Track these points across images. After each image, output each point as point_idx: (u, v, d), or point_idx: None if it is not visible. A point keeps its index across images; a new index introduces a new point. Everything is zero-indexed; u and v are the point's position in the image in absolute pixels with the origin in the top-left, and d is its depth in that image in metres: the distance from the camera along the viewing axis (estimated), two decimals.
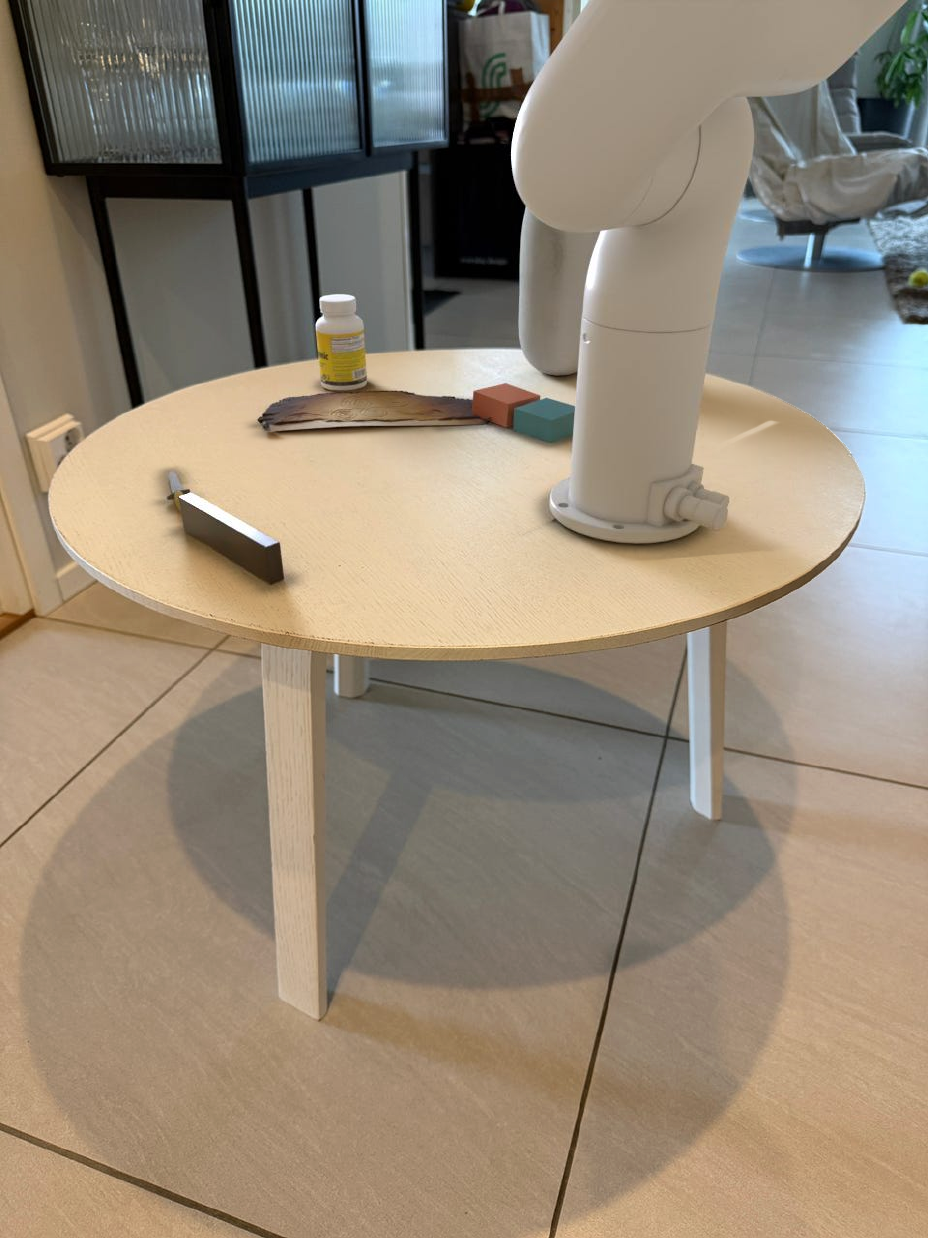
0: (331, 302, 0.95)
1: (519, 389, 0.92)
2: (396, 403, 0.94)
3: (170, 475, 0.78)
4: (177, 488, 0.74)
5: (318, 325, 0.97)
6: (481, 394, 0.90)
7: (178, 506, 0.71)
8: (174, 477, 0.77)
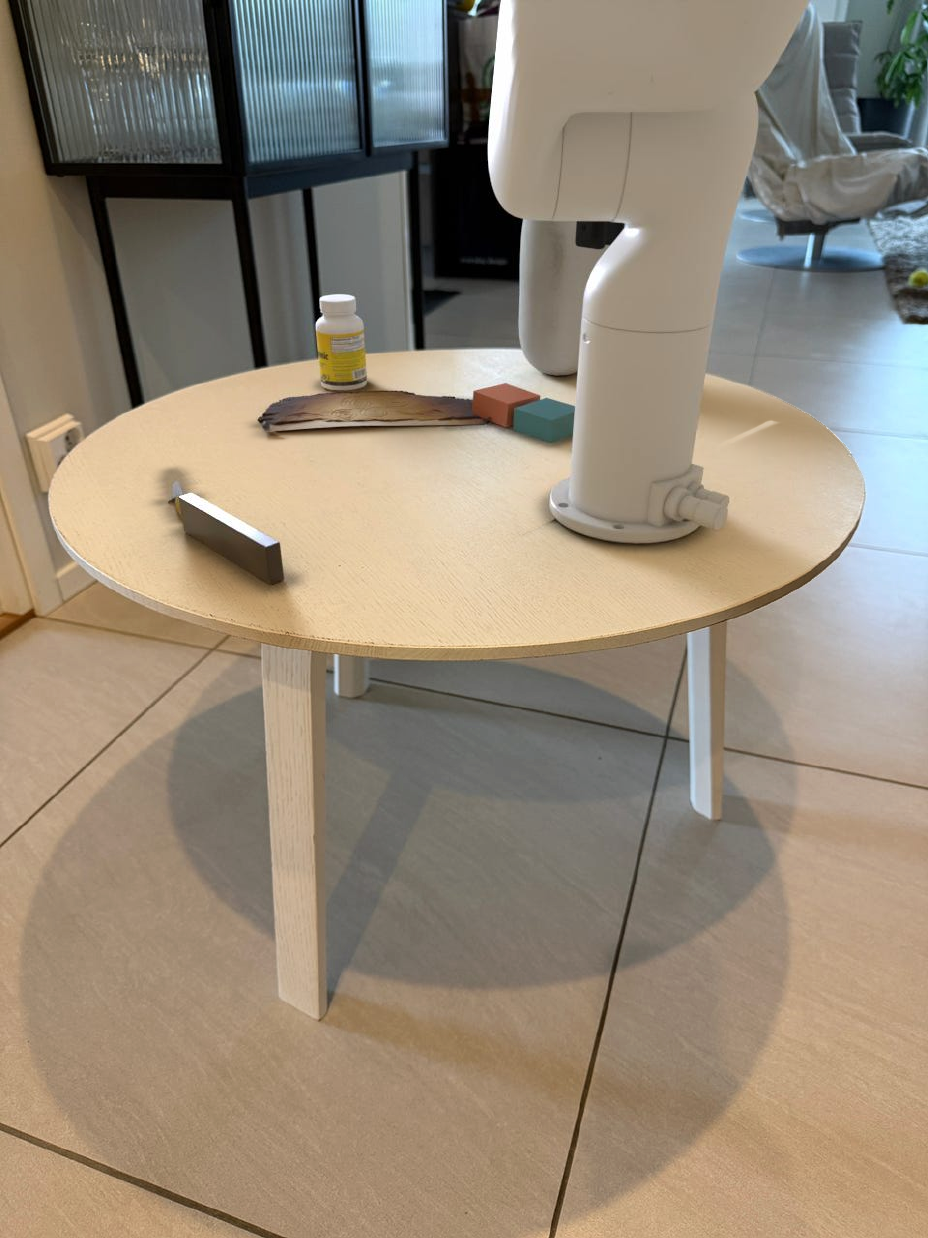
0: (331, 302, 0.95)
1: (519, 389, 0.92)
2: (396, 403, 0.94)
3: None
4: (178, 493, 0.74)
5: (318, 325, 0.97)
6: (481, 394, 0.90)
7: (179, 511, 0.71)
8: (175, 482, 0.77)
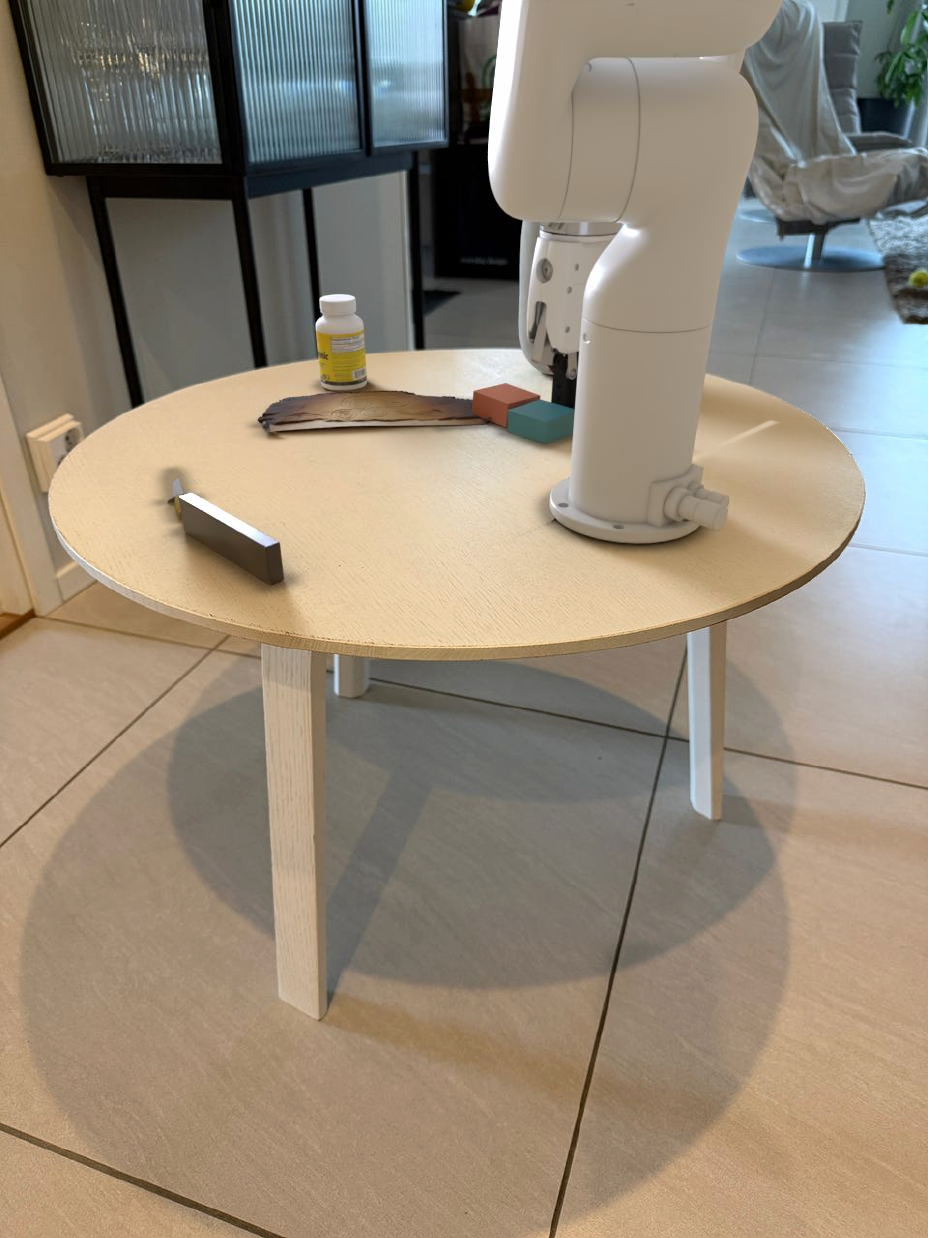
0: (331, 302, 0.95)
1: (519, 389, 0.92)
2: (396, 403, 0.94)
3: None
4: (178, 492, 0.74)
5: (318, 325, 0.97)
6: (481, 394, 0.90)
7: (178, 510, 0.71)
8: (176, 481, 0.77)
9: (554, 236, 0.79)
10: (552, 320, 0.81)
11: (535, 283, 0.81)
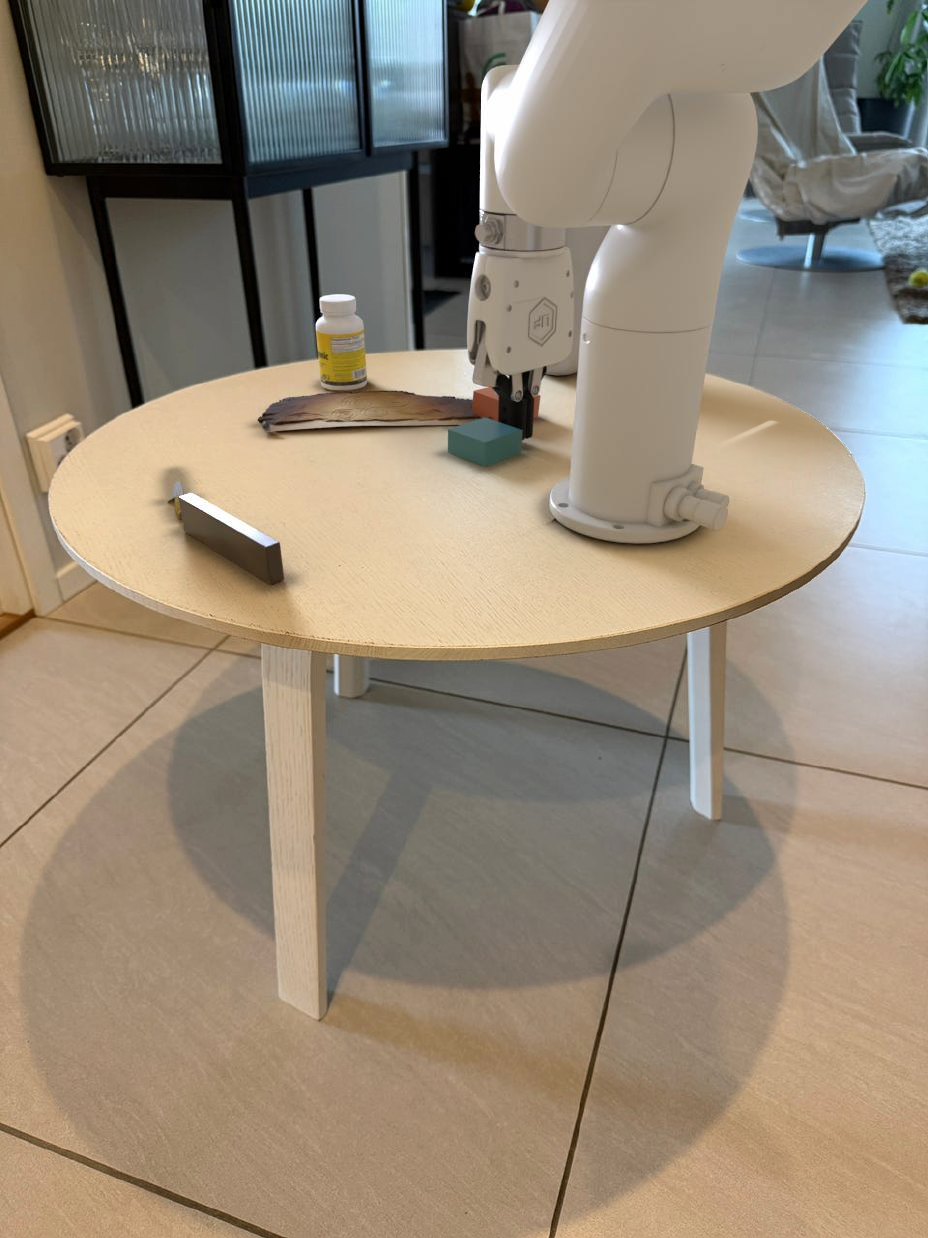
0: (331, 302, 0.95)
1: None
2: (396, 403, 0.94)
3: None
4: (178, 493, 0.75)
5: (318, 325, 0.97)
6: (481, 394, 0.90)
7: (177, 511, 0.71)
8: (177, 481, 0.77)
9: (492, 251, 0.74)
10: (492, 340, 0.76)
11: (474, 301, 0.76)
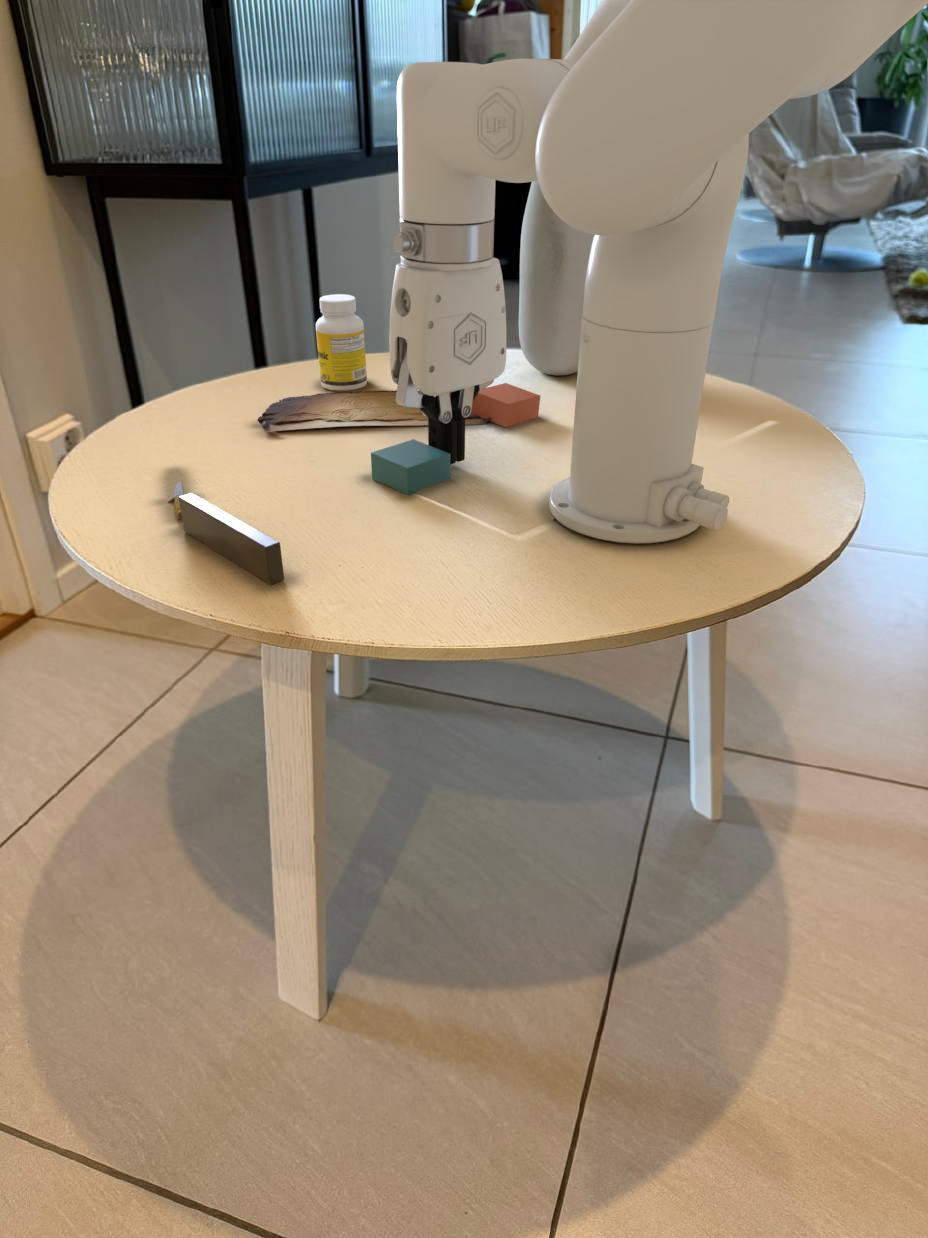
0: (331, 302, 0.95)
1: (519, 389, 0.92)
2: (396, 403, 0.94)
3: None
4: (178, 493, 0.75)
5: (318, 325, 0.97)
6: (481, 394, 0.90)
7: (176, 511, 0.71)
8: None
9: (412, 263, 0.69)
10: (413, 358, 0.71)
11: (395, 316, 0.71)
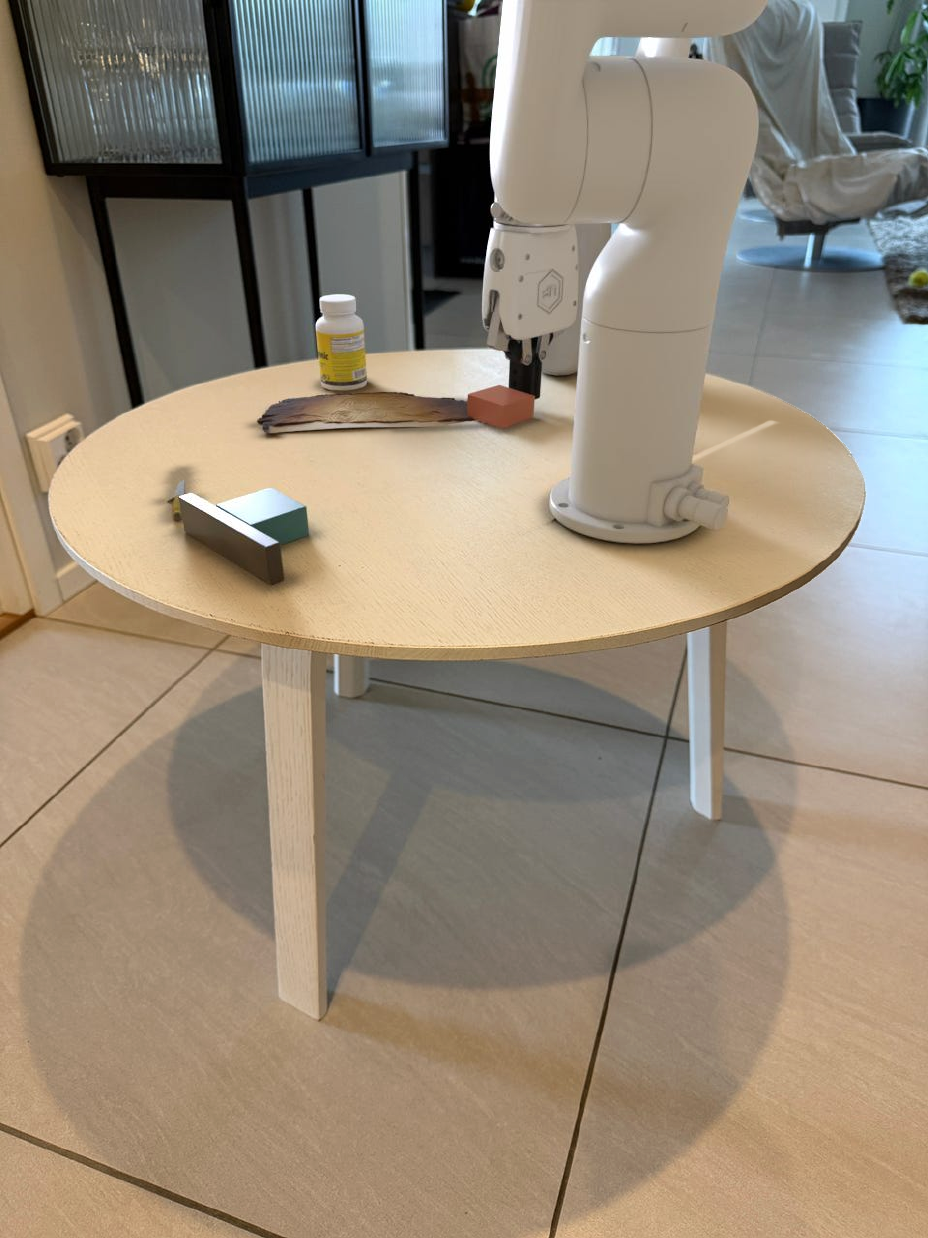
0: (331, 302, 0.95)
1: (513, 390, 0.92)
2: (395, 404, 0.94)
3: None
4: (179, 492, 0.75)
5: (318, 325, 0.97)
6: (476, 397, 0.90)
7: (173, 511, 0.71)
8: (181, 481, 0.77)
9: (506, 227, 0.82)
10: (505, 307, 0.84)
11: (489, 272, 0.84)
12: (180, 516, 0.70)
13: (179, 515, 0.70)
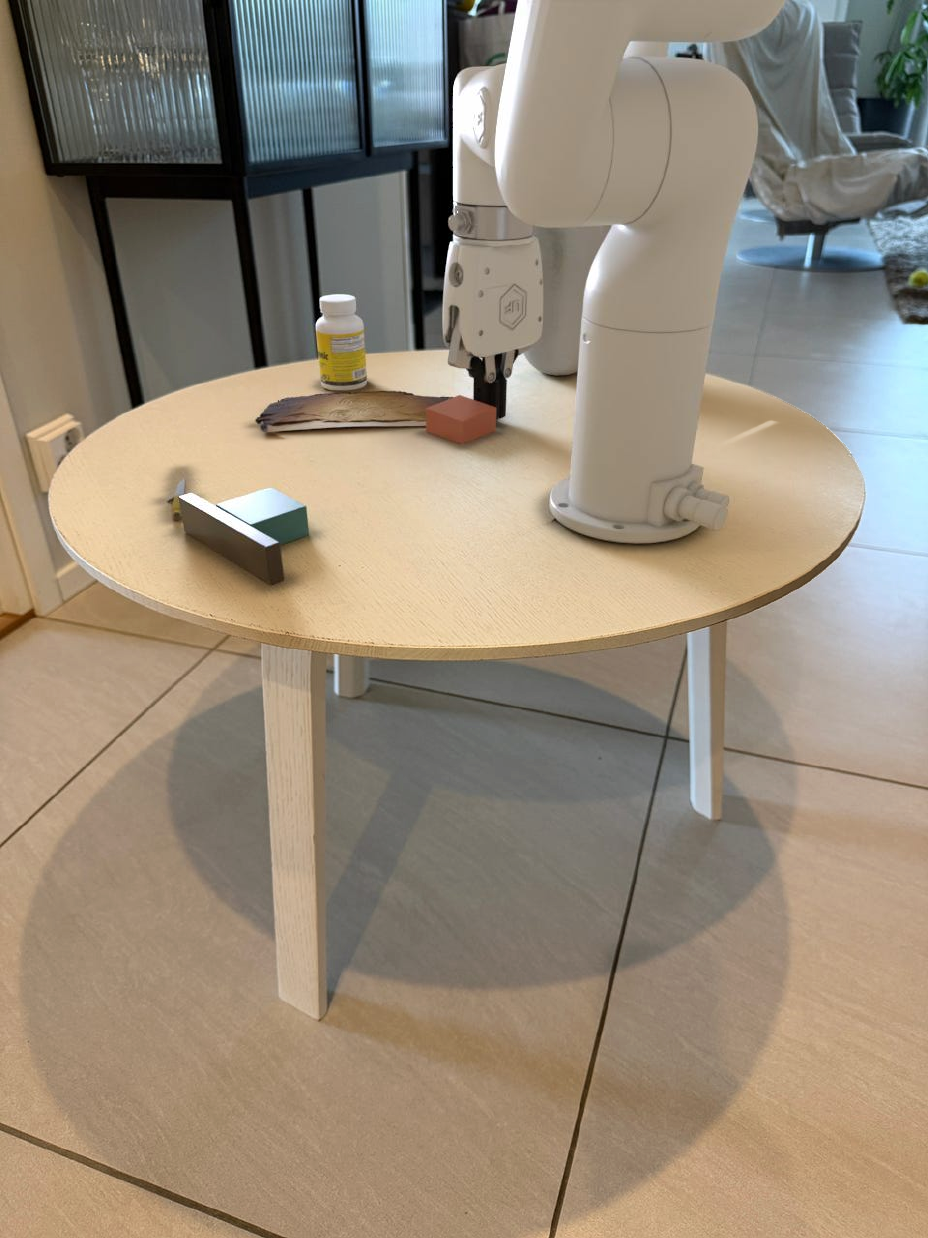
0: (331, 302, 0.95)
1: (474, 401, 0.88)
2: (394, 403, 0.93)
3: None
4: (179, 492, 0.75)
5: (318, 325, 0.97)
6: (434, 411, 0.86)
7: (172, 511, 0.71)
8: (182, 480, 0.77)
9: (465, 240, 0.79)
10: (465, 324, 0.81)
11: (448, 287, 0.81)
12: (179, 516, 0.70)
13: (178, 515, 0.70)
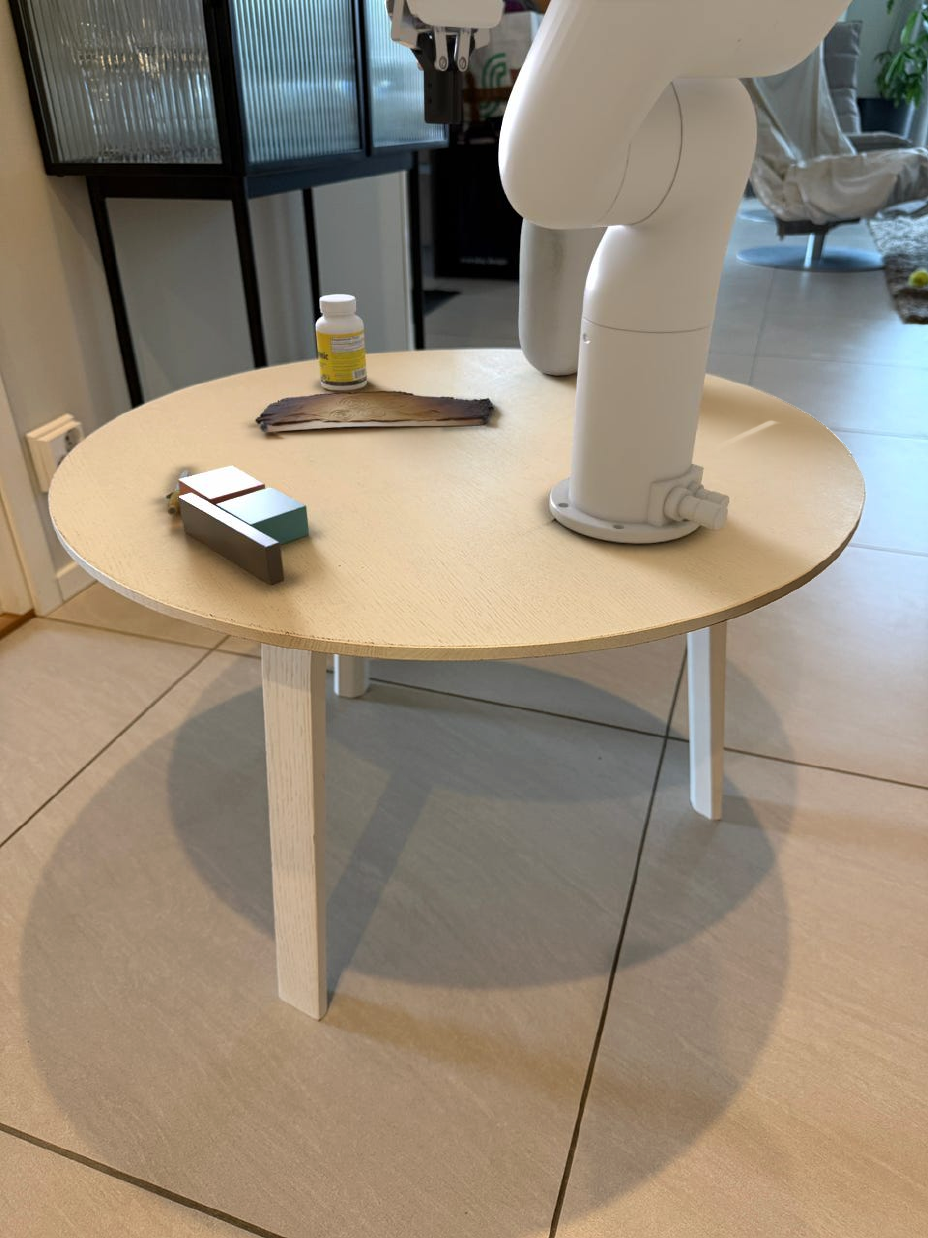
0: (331, 302, 0.95)
1: (242, 475, 0.72)
2: (394, 403, 0.93)
3: (182, 474, 0.78)
4: None
5: (318, 325, 0.97)
6: (185, 484, 0.70)
7: (169, 506, 0.71)
8: (184, 476, 0.77)
9: None
10: None
11: None
12: (175, 511, 0.70)
13: (174, 510, 0.70)
